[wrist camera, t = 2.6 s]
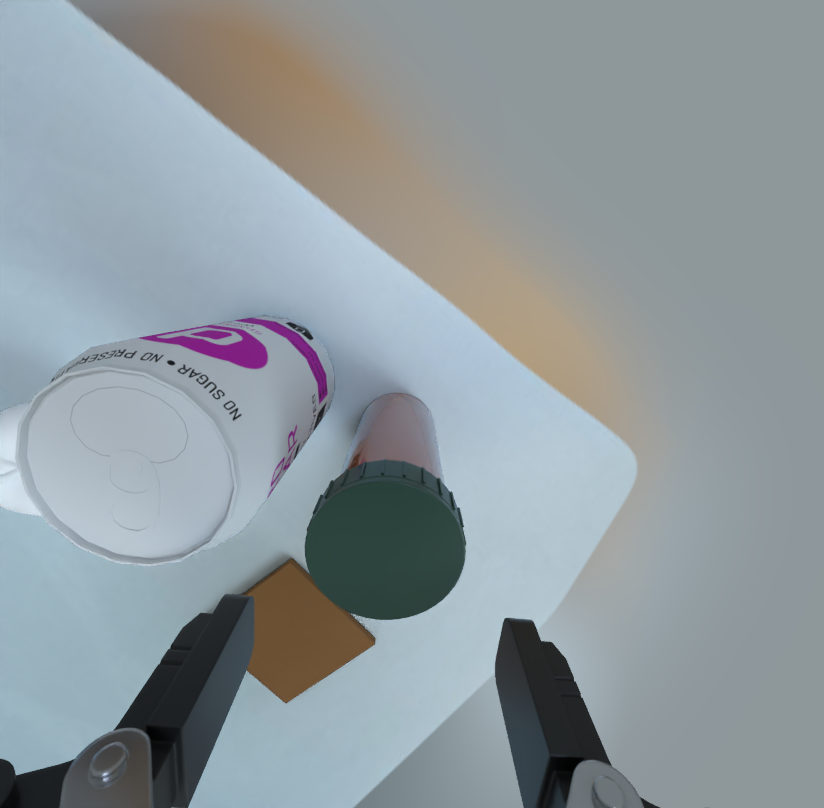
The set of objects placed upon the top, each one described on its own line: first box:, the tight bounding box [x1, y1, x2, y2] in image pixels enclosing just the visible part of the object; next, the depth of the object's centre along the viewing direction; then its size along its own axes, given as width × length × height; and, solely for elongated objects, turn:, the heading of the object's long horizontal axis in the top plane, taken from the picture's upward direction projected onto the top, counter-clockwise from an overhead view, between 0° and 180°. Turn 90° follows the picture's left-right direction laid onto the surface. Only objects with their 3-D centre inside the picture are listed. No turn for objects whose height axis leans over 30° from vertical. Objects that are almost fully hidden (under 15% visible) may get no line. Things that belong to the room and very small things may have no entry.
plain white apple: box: [0, 402, 42, 516], centre depth 25 cm, size 7×7×8 cm
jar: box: [339, 393, 445, 485], centre depth 22 cm, size 5×5×14 cm
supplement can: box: [15, 315, 335, 567], centre depth 20 cm, size 8×8×15 cm
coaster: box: [243, 558, 375, 703], centre depth 33 cm, size 10×10×1 cm
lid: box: [305, 459, 466, 620], centre depth 16 cm, size 6×6×2 cm
